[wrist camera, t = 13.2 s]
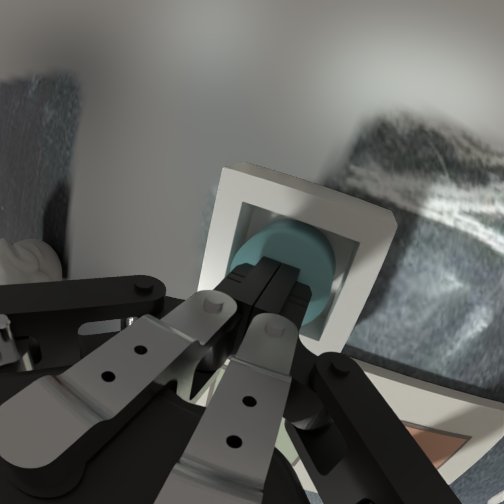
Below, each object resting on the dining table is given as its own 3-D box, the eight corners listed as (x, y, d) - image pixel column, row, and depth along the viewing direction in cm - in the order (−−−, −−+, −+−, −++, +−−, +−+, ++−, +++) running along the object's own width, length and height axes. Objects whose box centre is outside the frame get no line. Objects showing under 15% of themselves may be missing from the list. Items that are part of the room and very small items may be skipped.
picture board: (519, 406, 14) (523, 416, 13) (412, 504, 19) (411, 512, 19) (205, 300, 18) (197, 308, 17) (181, 432, 24) (176, 439, 23)
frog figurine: (48, 301, 24) (-10, 338, 18) (26, 224, 22) (-41, 251, 16) (91, 308, 22) (25, 356, 16) (66, 217, 20) (-15, 250, 14)
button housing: (391, 210, 13) (397, 226, 11) (338, 336, 16) (332, 367, 14) (245, 161, 15) (223, 167, 12) (216, 289, 18) (193, 311, 15)
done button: (348, 237, 13) (346, 255, 11) (318, 315, 15) (310, 341, 13) (260, 206, 14) (242, 218, 12) (239, 285, 16) (221, 306, 14)
